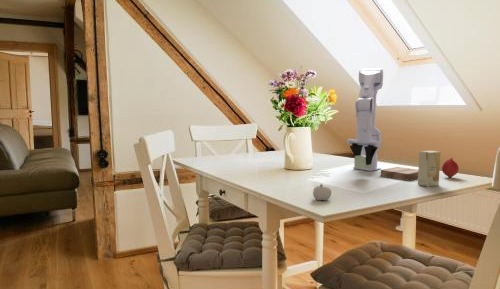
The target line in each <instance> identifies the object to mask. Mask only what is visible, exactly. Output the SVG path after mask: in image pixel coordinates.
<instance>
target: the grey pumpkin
mask: <svg viewBox="0 0 500 289" xmlns="http://www.w3.org/2000/svg"><path fill="white" fill-rule="evenodd" d="M312 192H313V193H312V195H313V198H314V200H316V201H319V200H325V201H327V200H329V199H330V198H331V196H332V189H331V188H330V187H329V186H328V185H323V183H320V184H319V185H316V186H315V187H314V188H313V191H312Z"/></svg>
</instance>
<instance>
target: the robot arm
mask: <svg viewBox="0 0 500 289" xmlns="http://www.w3.org/2000/svg"><path fill="white" fill-rule="evenodd" d="M358 82H359V87H360V89H359V93H358V99H356V100H355V108H354V109H355V117H356V128H355V129H356V131H355V132H356V133H355V138H347V139H346V145H349V148H350V150H351V153H352V154H353V157H354V160H353V161H354V165H353V169H356V170H362V171H367V172H368V171H370V172H372V171H377V170H378V171H379V170H382V168H381V167H378V150H379V149H381V148H382V132H381V130H380V129H378V128H377V127H376V111H377V110H376V108H377V95H378V91H379V90H381V89H382V88H383V84H384V68H381V67H380V68H360V70H359V71H358ZM358 155H366V165H370V164H371V162H372V164H371V168H365V169H363V168H357V167H355V156H358Z"/></svg>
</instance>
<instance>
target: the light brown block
mask: <svg viewBox="0 0 500 289" xmlns="http://www.w3.org/2000/svg"><path fill="white" fill-rule="evenodd" d="M418 170H419V169H416V168H408V167H401V166H394V167H390V168H384V169H380V177H385V178H391V179H397V180H402V181H411V180H416V179H417V180H418Z"/></svg>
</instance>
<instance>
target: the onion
mask: <svg viewBox="0 0 500 289" xmlns="http://www.w3.org/2000/svg"><path fill="white" fill-rule="evenodd" d="M459 169H460V168H459V165H458V163H457V162H456V161H455V160H454V159H453V157H450V158H448V159H447V160H446V161H445V162H443V164H442V167H441V171H442V173H443V174H444V175H445V176H447V177H448V178H451V179H452V178H453V177H454V176H455V175H457V174H458V172H459Z"/></svg>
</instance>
